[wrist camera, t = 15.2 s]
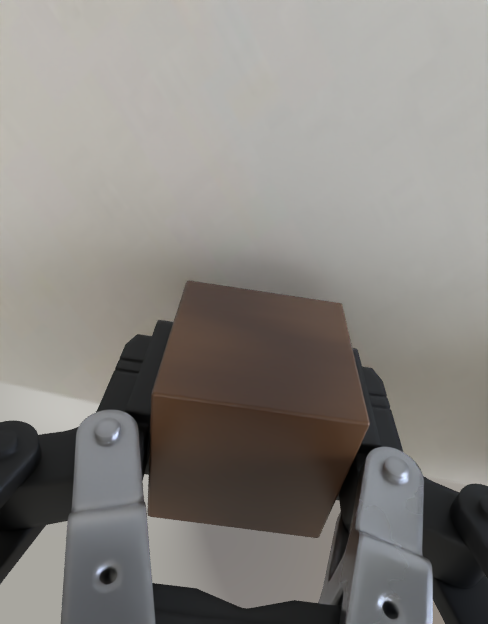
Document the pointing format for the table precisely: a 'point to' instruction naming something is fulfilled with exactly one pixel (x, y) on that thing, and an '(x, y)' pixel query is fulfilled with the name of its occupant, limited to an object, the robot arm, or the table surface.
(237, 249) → the table surface
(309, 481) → the block
